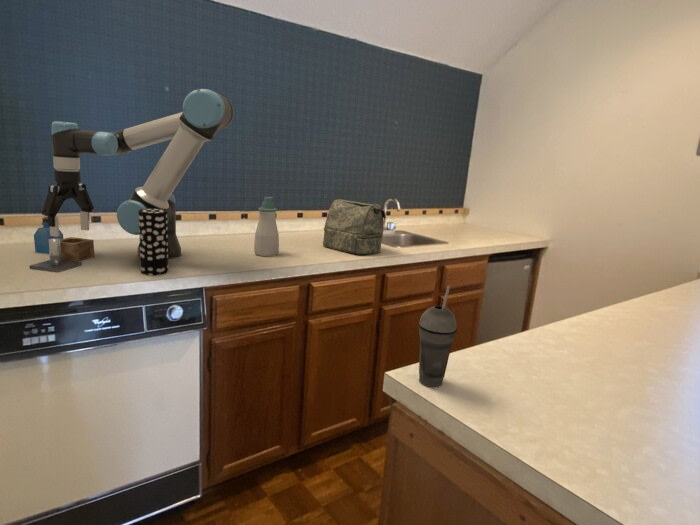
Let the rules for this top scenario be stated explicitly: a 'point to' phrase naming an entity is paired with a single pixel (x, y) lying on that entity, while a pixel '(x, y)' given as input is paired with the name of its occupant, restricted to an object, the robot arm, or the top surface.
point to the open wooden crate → (76, 248)
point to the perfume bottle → (44, 237)
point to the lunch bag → (354, 227)
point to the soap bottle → (267, 230)
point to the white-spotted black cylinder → (153, 241)
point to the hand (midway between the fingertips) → (70, 233)
